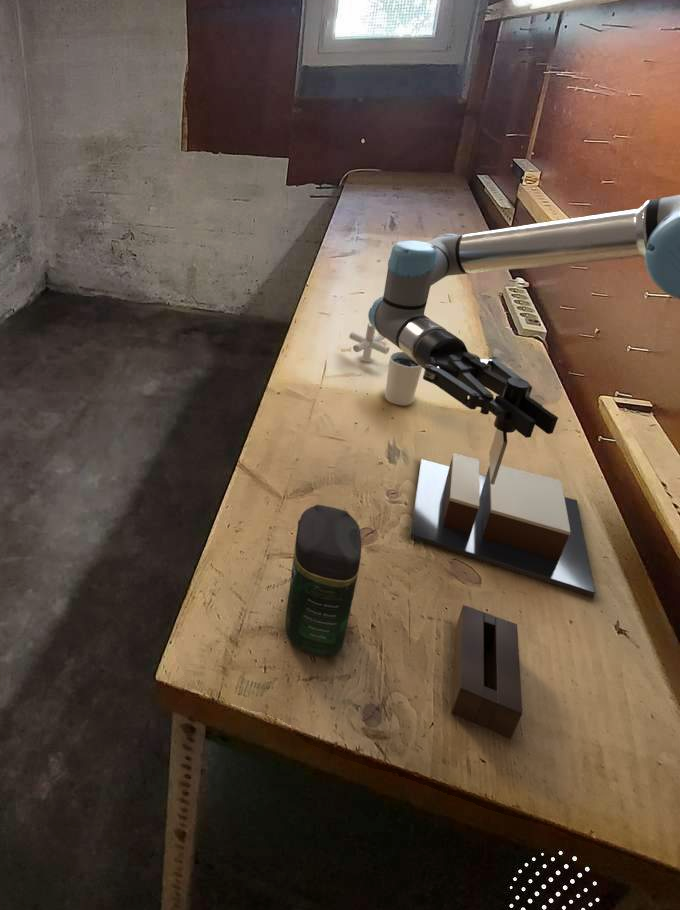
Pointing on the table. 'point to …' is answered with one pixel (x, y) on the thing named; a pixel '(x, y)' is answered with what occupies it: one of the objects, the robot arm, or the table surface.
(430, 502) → the cake board
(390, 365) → the white cup
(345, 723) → the table surface
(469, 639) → the knife block
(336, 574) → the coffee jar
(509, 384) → the knife
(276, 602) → the table surface
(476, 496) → the cake slice
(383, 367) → the table surface
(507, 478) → the cake
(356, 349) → the pipe connector
